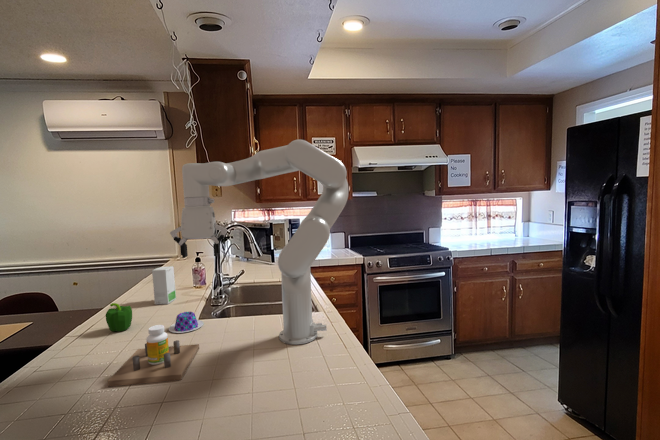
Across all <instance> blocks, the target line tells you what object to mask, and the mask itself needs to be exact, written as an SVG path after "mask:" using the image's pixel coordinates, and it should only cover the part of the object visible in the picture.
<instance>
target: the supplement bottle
mask: <svg viewBox="0 0 660 440" xmlns="http://www.w3.org/2000/svg"><path fill="white" fill-rule="evenodd" d="M168 336H169V335H168V333H167V332H165V325H163V324H156V325H152V326H150V327H149V328H148V335H147V336H146V339H145V340H146V343H147V353H148V363H149V364H151V365H157V364H161V363H164V354H165V353H169V347H170V346H169V337H168Z"/></svg>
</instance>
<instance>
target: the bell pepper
mask: <svg viewBox="0 0 660 440" xmlns="http://www.w3.org/2000/svg"><path fill="white" fill-rule="evenodd" d="M109 306H110V307H113V306H114V307H115V308H109V309H108V310H107V311H106V313H105V321H106V324H107V327H108V329H109V330H110V331H111V332H124V331H126V330H128V329H130V328H131V325H132V320H133V309H132V307H131V305H126V306H124V305H120V304H119V303H115V302H113V303H110V304H109Z"/></svg>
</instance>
